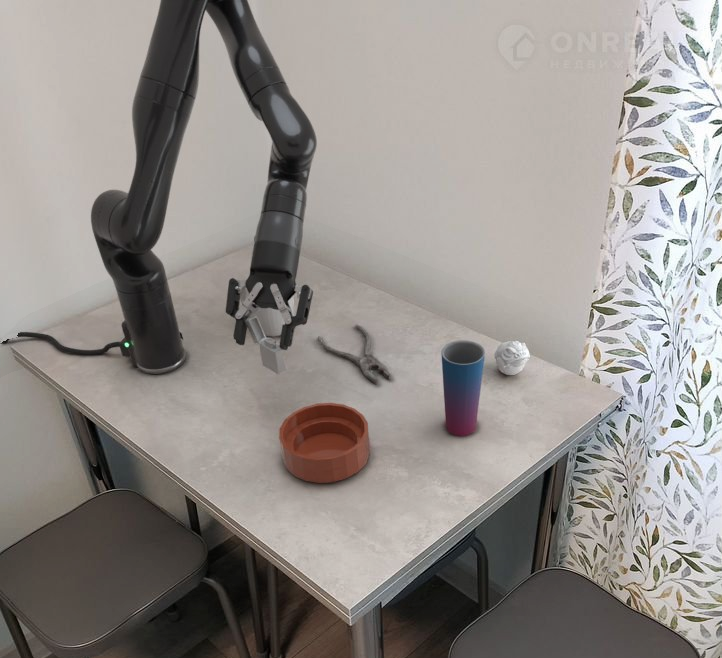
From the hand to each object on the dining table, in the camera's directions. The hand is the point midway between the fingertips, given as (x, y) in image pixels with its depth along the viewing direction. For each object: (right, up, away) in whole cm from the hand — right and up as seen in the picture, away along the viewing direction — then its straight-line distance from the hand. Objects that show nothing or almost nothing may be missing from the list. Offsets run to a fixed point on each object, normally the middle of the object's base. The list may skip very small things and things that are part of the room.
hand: (261, 346), depth 130 cm
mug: (-3, +9, +34) cm, 35 cm away
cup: (+33, -13, +6) cm, 36 cm away
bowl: (+10, -18, +2) cm, 21 cm away
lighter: (+1, -3, +4) cm, 5 cm away
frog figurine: (+43, -3, +17) cm, 47 cm away
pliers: (+17, +2, +25) cm, 30 cm away
